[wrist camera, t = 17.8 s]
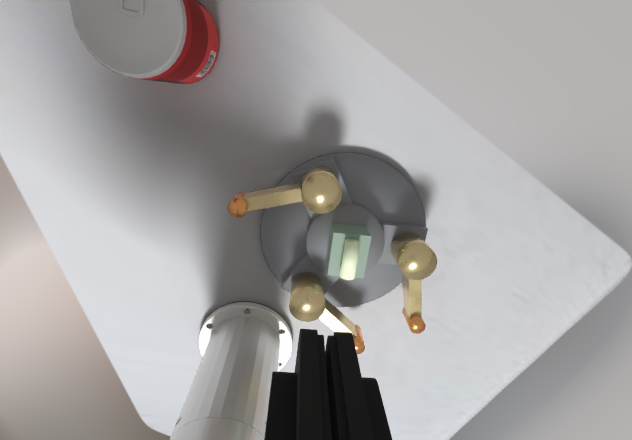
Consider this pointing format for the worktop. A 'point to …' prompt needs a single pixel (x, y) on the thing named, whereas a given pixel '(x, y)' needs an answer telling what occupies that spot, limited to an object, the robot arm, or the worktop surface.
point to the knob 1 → (294, 194)
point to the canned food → (149, 37)
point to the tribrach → (345, 230)
